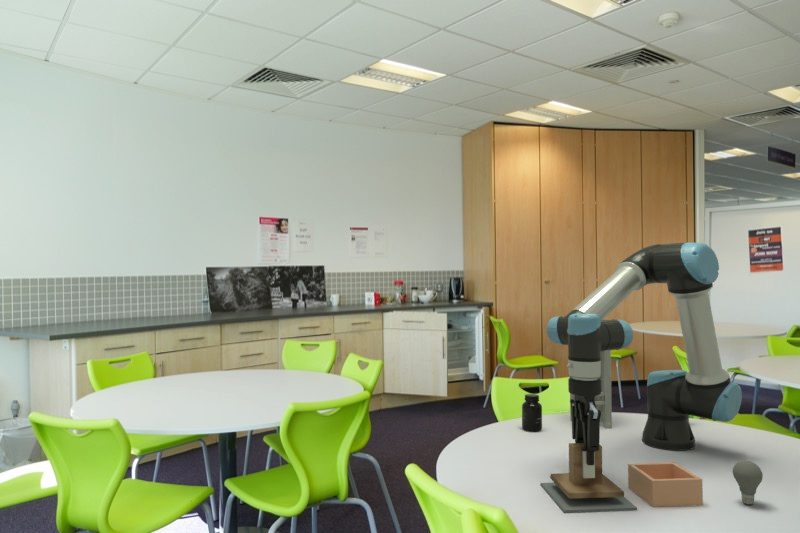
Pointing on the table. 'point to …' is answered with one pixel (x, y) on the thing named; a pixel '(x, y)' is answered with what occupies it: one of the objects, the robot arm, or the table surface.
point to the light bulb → (747, 479)
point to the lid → (581, 486)
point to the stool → (603, 391)
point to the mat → (586, 502)
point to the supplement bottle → (532, 413)
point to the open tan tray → (665, 484)
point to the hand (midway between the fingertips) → (585, 474)
